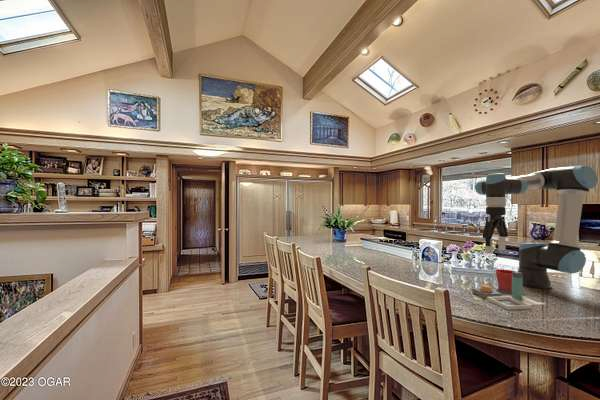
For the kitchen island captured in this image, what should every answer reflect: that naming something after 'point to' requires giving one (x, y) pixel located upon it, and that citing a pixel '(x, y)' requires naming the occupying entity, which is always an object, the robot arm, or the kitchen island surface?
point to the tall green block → (517, 285)
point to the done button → (486, 289)
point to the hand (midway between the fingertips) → (495, 251)
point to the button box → (485, 295)
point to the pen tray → (509, 307)
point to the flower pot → (504, 279)
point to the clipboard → (529, 300)
